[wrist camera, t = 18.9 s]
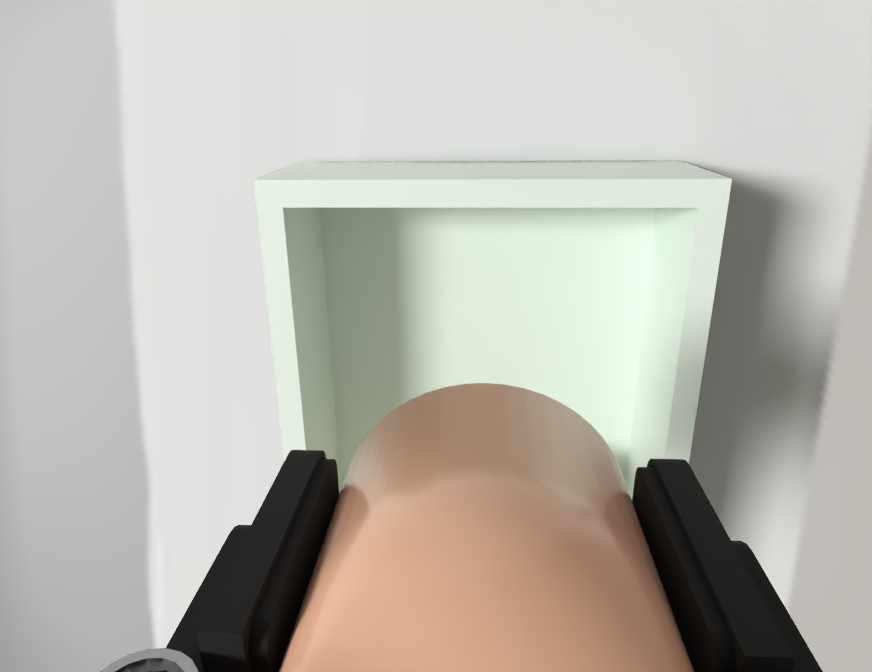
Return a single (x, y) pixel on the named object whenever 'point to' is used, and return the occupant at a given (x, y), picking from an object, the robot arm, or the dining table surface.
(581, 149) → the dining table surface
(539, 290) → the tote
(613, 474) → the terracotta cylinder
